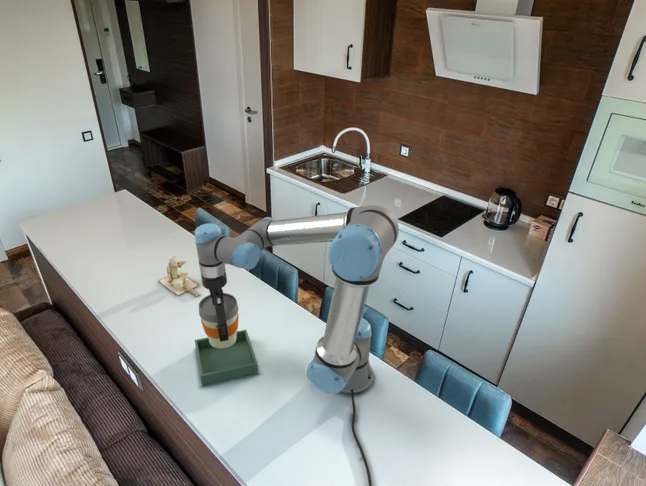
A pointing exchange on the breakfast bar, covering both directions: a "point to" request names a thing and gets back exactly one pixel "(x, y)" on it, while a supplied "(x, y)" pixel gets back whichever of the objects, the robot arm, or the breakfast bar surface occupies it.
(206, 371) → the green square tray
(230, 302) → the reusable coffee cup
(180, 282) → the wooden toy
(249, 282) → the breakfast bar surface
